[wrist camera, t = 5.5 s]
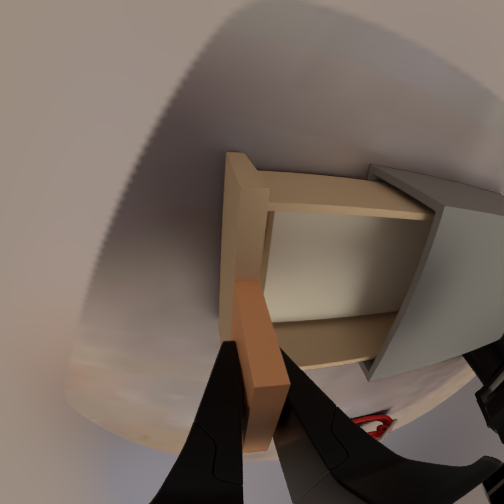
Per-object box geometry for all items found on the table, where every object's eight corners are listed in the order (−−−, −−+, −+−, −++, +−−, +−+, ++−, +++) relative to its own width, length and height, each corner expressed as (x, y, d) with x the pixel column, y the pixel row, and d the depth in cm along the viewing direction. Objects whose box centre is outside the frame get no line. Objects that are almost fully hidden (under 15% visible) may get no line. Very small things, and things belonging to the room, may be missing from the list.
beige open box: (456, 183, 15) (570, 257, 7) (411, 309, 20) (479, 401, 12) (226, 152, 12) (272, 267, 4) (218, 324, 17) (237, 476, 9)
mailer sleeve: (501, 194, 17) (553, 227, 11) (461, 297, 21) (499, 339, 16) (370, 164, 14) (444, 205, 9) (332, 313, 19) (368, 382, 14)
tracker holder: (328, 457, 33) (284, 470, 27) (321, 430, 36) (277, 438, 30) (405, 432, 28) (377, 448, 22) (396, 402, 31) (366, 409, 25)
